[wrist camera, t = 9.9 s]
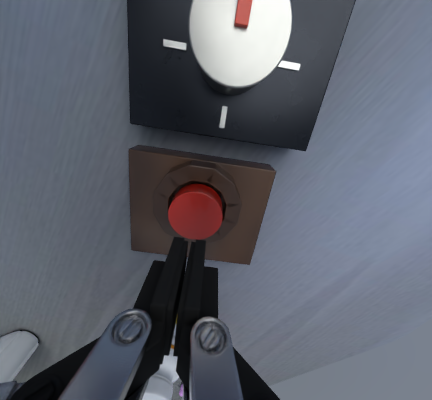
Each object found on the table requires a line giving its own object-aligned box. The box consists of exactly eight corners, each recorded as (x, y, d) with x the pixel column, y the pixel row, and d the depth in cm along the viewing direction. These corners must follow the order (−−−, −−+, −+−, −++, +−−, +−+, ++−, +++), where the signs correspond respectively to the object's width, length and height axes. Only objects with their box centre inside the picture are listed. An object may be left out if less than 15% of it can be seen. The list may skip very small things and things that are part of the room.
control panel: (144, 121, 17) (128, 123, 14) (144, -44, 13) (123, -88, 10) (292, 144, 18) (307, 151, 15) (336, -4, 14) (369, -36, 11)
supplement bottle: (155, 319, 27) (125, 421, 18) (145, 291, 25) (106, 390, 16) (194, 317, 27) (183, 418, 18) (187, 288, 25) (171, 387, 16)
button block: (139, 237, 22) (123, 263, 18) (138, 144, 18) (117, 153, 14) (247, 251, 22) (252, 278, 19) (270, 164, 18) (283, 178, 15)
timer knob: (258, 100, 13) (278, 95, 9) (193, 89, 13) (182, 78, 9) (276, 17, 12) (312, -38, 7) (202, 2, 11) (192, -65, 7)
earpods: (191, 379, 36) (198, 384, 35) (189, 390, 35) (195, 396, 34) (178, 380, 34) (185, 386, 33) (175, 392, 33) (182, 399, 32)
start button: (171, 224, 17) (166, 236, 15) (174, 179, 15) (169, 188, 14) (218, 230, 17) (218, 243, 15) (225, 187, 15) (226, 196, 14)
